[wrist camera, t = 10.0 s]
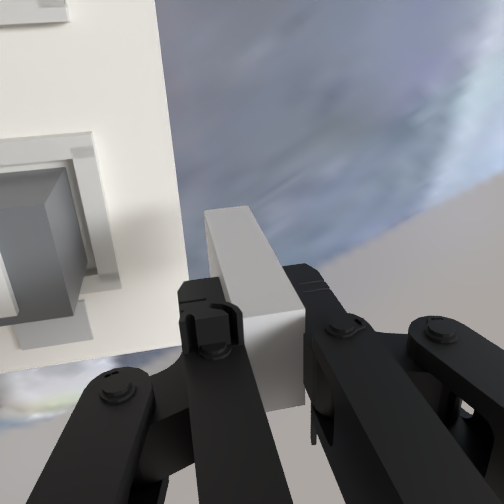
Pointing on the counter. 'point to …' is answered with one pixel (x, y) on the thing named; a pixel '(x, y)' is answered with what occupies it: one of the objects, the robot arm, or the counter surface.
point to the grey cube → (39, 247)
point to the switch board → (96, 170)
